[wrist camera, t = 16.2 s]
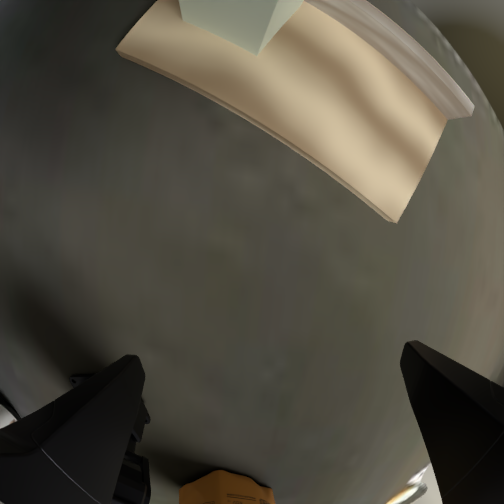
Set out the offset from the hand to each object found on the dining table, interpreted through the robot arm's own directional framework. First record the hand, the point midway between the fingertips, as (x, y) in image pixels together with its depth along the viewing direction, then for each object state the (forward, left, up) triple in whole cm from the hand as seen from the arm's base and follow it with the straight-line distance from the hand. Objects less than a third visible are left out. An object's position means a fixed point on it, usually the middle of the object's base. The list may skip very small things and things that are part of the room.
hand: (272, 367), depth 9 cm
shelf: (+7, +13, -12) cm, 19 cm away
